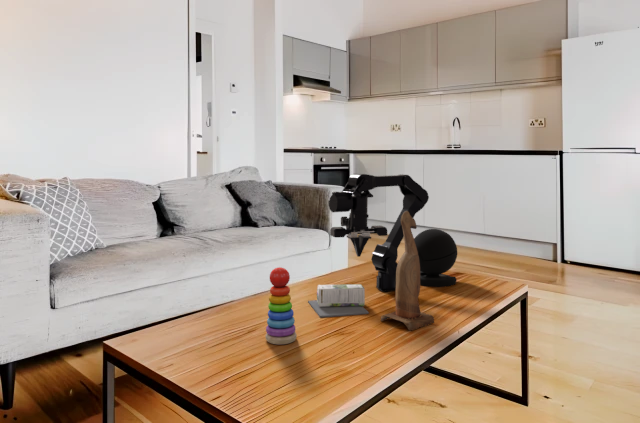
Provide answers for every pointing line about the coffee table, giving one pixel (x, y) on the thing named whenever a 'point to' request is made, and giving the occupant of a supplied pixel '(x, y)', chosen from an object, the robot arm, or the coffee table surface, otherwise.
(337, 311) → the mat
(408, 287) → the bird sculpture
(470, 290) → the coffee table surface
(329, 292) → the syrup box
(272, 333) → the stacking toy
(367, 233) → the robot arm
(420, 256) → the webcam
